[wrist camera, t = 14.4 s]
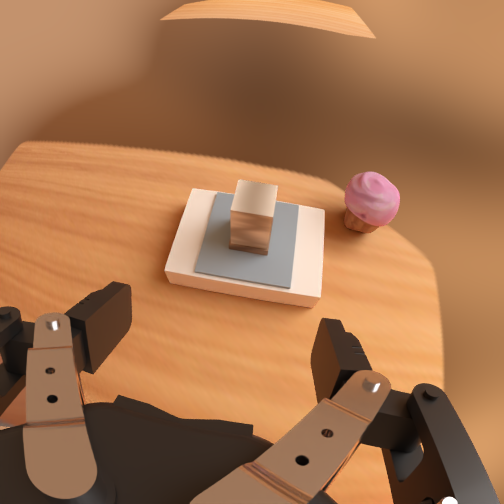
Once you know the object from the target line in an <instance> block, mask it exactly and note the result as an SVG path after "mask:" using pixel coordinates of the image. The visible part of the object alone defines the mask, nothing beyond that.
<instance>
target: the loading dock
mask: <svg viewBox="0 0 504 504" xmlns="http://www.w3.org/2000/svg"><path fill="white" fill-rule="evenodd" d="M234 195H235V194H231V193H224V192H217V191H210V190H202V189H195V188H193V189H192V191H191V194H190V197H189V200H188V202H187V205H186V208H185V211H184V213H183V216H182V219H181V222H180V225H179V227H178V230H177V233H176V236H175V239H174V242H173V245H172V248H171V251H170V254H169V257H168V260H167V263H166V266H165V270H164V271H165V273H166V275H167V278H168V280H169V282H170V283H172V284H177V285H182V286H187V287H192V288H197V289H203V290H208V291H213V292H219V293H224V294H230V295H235V296H241V297H247V298H253V299H258V300H264V301H271V302H277V303H283V304H289V305H296V306H302V307H309V308H313V307H314V306H315V305H316V303H317V302H318V301H319V299H320V298H321V285H322V269H323V249H324V220H325V210H324V209H319V208H314V207H308V206H303V205H297V204H292V203H286V202H280V201H276V203H275V209H274V215H273V225H272V231H271V237H270V244H269V250H268V255H267V256H266V255H261V254H255V253H249V252H243V251H237V250H232V249H229V241H230V237H231V222H230V210H231V206H232V202H233V199H234Z"/></svg>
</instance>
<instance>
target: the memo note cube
mask: <svg viewBox="0 0 504 504" xmlns="http://www.w3.org/2000/svg"><path fill="white" fill-rule="evenodd" d="M277 190H278V186H277V185H271V184H265V183H259V182H253V181H247V180H240V179H239V180H238V184H237V187H236V191H235V195H234V199H233V202H232V206H231V210H230V222H231V237H230V241H229V249H232V250H237V251H243V252H249V253H255V254H261V255H266V256H267V255H268V250H269V244H270V237H271V231H272V225H273V215H274V209H275V203H276V196H277Z"/></svg>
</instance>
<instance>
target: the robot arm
mask: <svg viewBox="0 0 504 504" xmlns="http://www.w3.org/2000/svg"><path fill="white" fill-rule="evenodd" d="M131 322H132V303H131V287H130V285H128V284H124V283H119V282H115V281H113V282H111V283H110V284H109V285H107V286H106V287H105V288H104V289H102V290H98V291H95V292H93V293H91V294H89V295H88V296H87V297H85V299H83V300H81V301H80V302H79V303H77V304H76V305H75V306H74V307H72V308H71V309H70V310H68V311H67V312H66V313H65V314H61V313H47V314H44V315H42V316H40V317H39V318H38V319H37V320H36V322H35V323H33V322H25V321H22V319H21V314H20V311H19V310H18V309H17V308H15V307H1V308H0V426H6V427H10V428H7V429H3V430H0V504H337V503H336V502H335V501H334V500H333V499H332V498H331V497H330V496H329V495H328V494H327V493H326V490H327V489H328V488H329V486H330V485H331V484H332V483H333V481H334V480H335V479H336V477H337V476H338V475H339V473H340V472H341V471H342V469H343V468H344V467H345V465H346V464H347V463H348V461H349V460H350V458H351V457H352V456H353V454H354V453H355V451H356V450H357V449H358V447H359V446H360V444H361V443H362V444H366V445H371V446H375V447H380V448H381V449H382V453H383V457H384V462H385V466H386V470H387V474H388V479H389V484H390V488H391V493H392V498H393V503H394V504H500V502H499V500H498V498H497V495H496V493H495V490H494V488H493V486H492V483H491V481H490V479H489V477H488V474H487V472H486V470H485V468H484V466H483V464H482V462H481V460H480V457H479V455H478V453H477V451H476V449H475V447H474V445H473V443H472V441H471V439H470V437H469V436H468V434H467V432H466V430H465V428H464V426H463V424H462V423H461V420H460V419H459V417H458V415H457V413H456V411H455V410H454V408H453V406H452V404H451V403H450V401H449V399H448V397H447V395H446V394H445V393H444V392H443V391H442V390H441V389H440V388H438V387H436V386H434V385H431V384H426V383H422V384H418V385H416V386H415V387H414V389H413V391H412V393H411V394H409V393H404V392H400V391H395V390H392V389H391V384H390V382H389V380H388V379H387V378H386V377H385V376H383V375H382V374H380V373H377V372H374V371H373V370H372V368H371V366H370V364H369V361H368V359H367V357H366V355H365V354H364V351H363V348H362V346H361V344H360V342H359V340H358V339H357V338H356V337H355V336H354V335H353V334H352V333H349V332H345V330H344V327H343V325H342V323H341V321H340V320H336V319H328V318H322V319H321V321H320V324H319V328H318V331H317V335H316V338H315V342H314V345H313V349H312V353H311V368H312V374H313V379H314V385H315V391H316V396H317V402H318V405H317V406H315V407H314V408H313V409H312V410H311V411H310V412H309V413H308V414H307V415H306V416H305V417H304V418H303V419H302V420H301V421H300V422H299V423H298V424H297V425H295V426H294V427H293V428H292V429H291V430H290V431H289V432H288V433H287V434H285V435H284V436H283V437H282V438H281V439H280V440H279V441H277V442H276V443H275V444H273V443H271V442H269V441H267V440H265V439H263V438H261V437H258V436H255V435H253V425H250V424H243V423H236V422H230V421H224V420H204V419H181V418H178V417H175V416H173V415H171V414H169V413H167V412H165V411H162V410H160V409H158V408H156V407H154V406H152V405H150V404H148V403H144V402H141V401H137V400H134V399H131V398H127V397H124V396H121V395H118V396H117V398H116V399H115V401H114V403H107V402H99V403H89V404H86V402H85V398H84V393H83V388H82V383H81V378H80V374H79V373H80V372H81V371H82V370H83V371H85V372H88V373H91V374H94V373H95V372H96V370H97V369H98V368H99V366H100V365H101V364H102V363H103V362H104V360H105V359H106V358H107V357H108V355H109V354H110V353H111V352H112V350H113V349H114V348H115V347H116V345H117V344H118V343H119V342H120V341H121V339H122V338H123V337H124V336H125V335H126V333H127V332H128V331H129V329H130V326H131ZM421 442H422V445H423V448H424V453H423V451H422V448H421V445H420V444H421Z"/></svg>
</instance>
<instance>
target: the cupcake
mask: <svg viewBox="0 0 504 504" xmlns="http://www.w3.org/2000/svg"><path fill="white" fill-rule="evenodd" d="M399 202H400V195H399V192H398V190H397V188H396V187H395V186H394V185H393V184H391V183H390V182H389V181H388V180H387V179H386V178H385V177H384V176H382V175H380V174H378V173H375V172H365V173H360V174H357V175H356V176H354V177H353V178H352V179H351V181H350V182H349V183H348V185H347V188H346V191H345V204H346V206H347V211H346V214H345V218H344V224H345V226H346V227H347V228H349V229H352V230H356V231H360V232H363V233H371V232H373V231H374V230H376V229H377V228H378V227H380V226H384V225H386V224H388V223H389V222H390V221H391V220H392V219H393V218H394V217H395V215H396V213H397V211H398V207H399Z"/></svg>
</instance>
